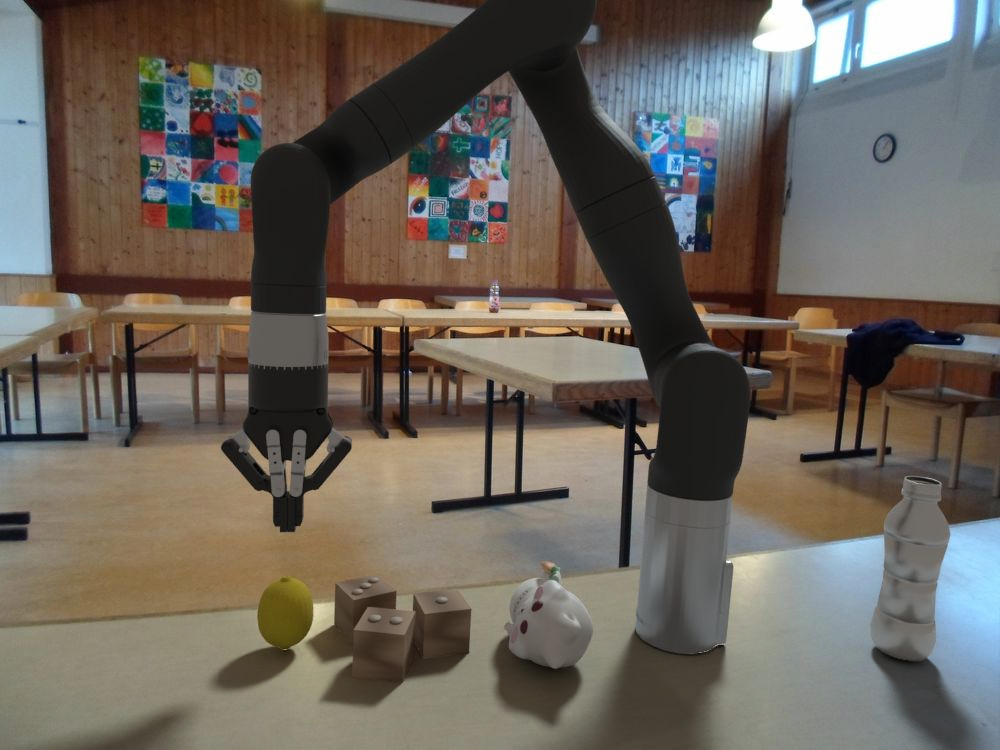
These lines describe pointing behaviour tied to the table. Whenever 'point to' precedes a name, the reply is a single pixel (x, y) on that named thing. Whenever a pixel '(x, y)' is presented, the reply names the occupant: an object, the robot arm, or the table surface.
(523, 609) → the cat figurine
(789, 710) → the table surface
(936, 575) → the plastic bottle
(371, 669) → the block two dots
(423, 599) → the block one dot
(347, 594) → the block three dots
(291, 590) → the lemon
